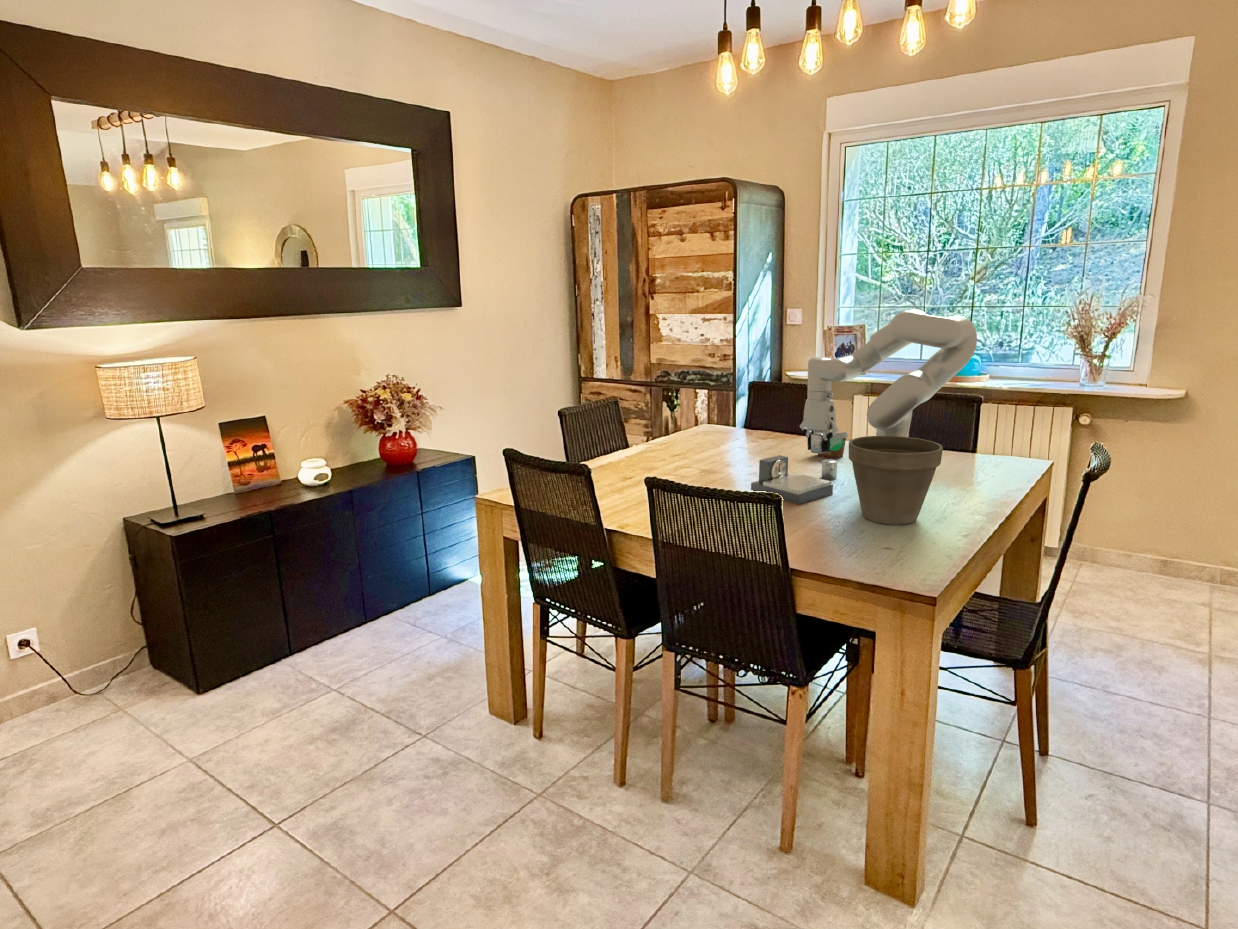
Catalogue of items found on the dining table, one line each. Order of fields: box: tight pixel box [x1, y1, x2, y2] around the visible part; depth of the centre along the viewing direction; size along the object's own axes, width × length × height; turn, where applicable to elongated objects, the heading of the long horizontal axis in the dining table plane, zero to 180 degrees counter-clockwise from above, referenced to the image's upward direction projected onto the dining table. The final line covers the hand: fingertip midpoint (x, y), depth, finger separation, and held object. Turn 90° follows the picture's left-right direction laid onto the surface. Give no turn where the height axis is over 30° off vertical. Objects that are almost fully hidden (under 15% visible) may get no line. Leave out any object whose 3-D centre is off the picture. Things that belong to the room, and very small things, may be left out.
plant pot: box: [848, 435, 944, 526], centre depth 212 cm, size 25×25×22 cm
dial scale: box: [750, 454, 834, 506], centre depth 238 cm, size 19×17×10 cm
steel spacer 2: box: [820, 458, 838, 481], centre depth 256 cm, size 5×5×6 cm
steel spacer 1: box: [810, 432, 826, 455], centre depth 248 cm, size 5×5×6 cm
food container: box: [815, 430, 849, 460], centre depth 284 cm, size 12×6×10 cm, turn 62°
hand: (818, 449), depth 248 cm, fingers closed on steel spacer 1, 5 cm apart
